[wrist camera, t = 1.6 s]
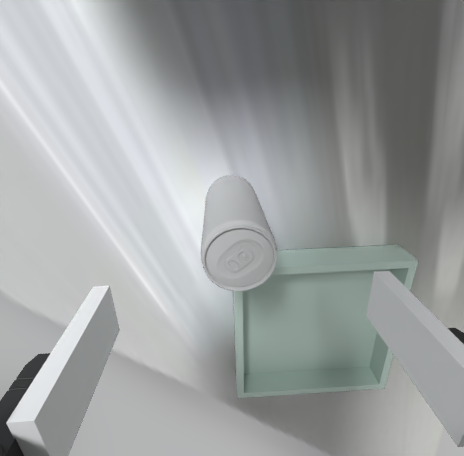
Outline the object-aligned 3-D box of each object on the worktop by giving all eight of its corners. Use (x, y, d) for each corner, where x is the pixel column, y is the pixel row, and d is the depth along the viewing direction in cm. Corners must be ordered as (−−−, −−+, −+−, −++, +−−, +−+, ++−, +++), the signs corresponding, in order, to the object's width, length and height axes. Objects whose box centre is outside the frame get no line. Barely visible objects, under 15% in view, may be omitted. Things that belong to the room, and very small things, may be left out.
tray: (232, 252, 32) (233, 269, 28) (398, 244, 32) (418, 260, 29) (235, 374, 39) (237, 398, 36) (371, 365, 40) (384, 388, 36)
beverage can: (265, 200, 29) (295, 263, 18) (227, 230, 30) (235, 306, 19) (233, 163, 28) (245, 208, 17) (195, 196, 29) (183, 258, 18)
